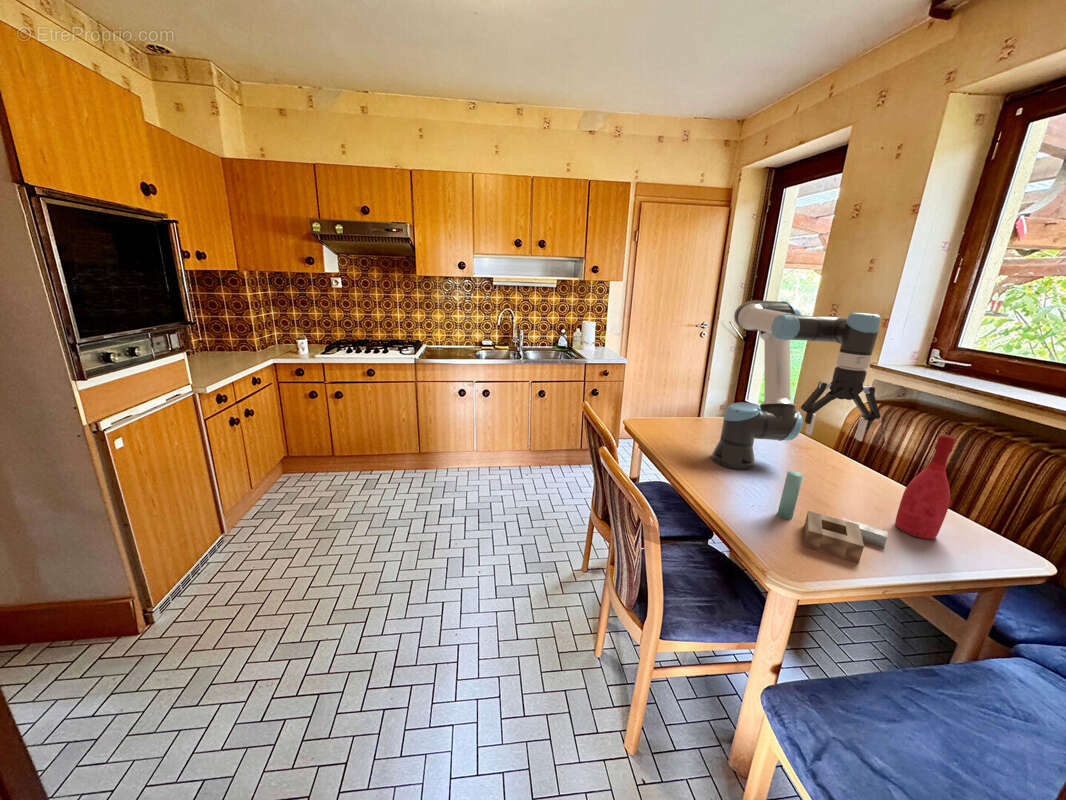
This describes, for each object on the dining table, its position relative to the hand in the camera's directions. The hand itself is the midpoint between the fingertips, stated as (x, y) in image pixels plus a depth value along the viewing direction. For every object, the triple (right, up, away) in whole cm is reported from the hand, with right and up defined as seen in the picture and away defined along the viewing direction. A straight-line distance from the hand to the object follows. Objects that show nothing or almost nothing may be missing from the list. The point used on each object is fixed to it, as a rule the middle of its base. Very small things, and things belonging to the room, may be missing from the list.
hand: (833, 436), depth 129 cm
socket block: (-9, -28, -12) cm, 32 cm away
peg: (-14, -24, +1) cm, 28 cm away
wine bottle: (+21, -28, -4) cm, 35 cm away
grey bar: (+2, -28, -8) cm, 29 cm away
